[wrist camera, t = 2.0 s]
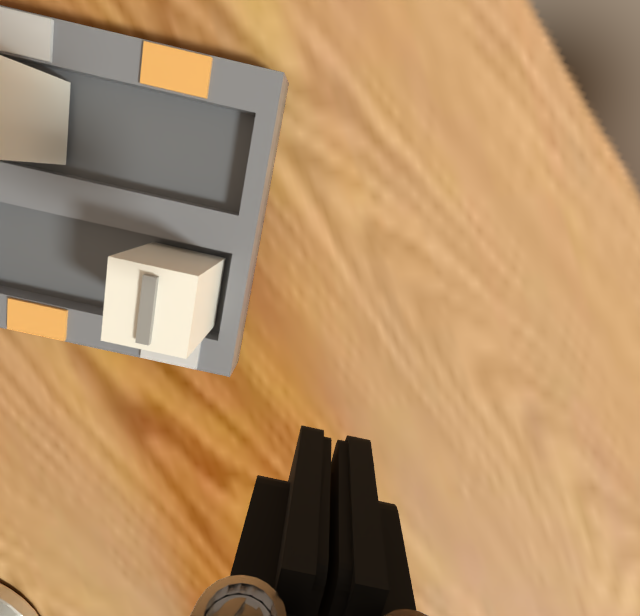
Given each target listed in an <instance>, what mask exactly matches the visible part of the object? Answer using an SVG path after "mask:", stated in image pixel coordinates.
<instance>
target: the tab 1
mask: <svg viewBox="0 0 640 616" xmlns="http://www.w3.org/2000/svg"><path fill="white" fill-rule="evenodd" d="M70 85H71V83H70V82H68V81H65V80H63V79H60V78H58V77H55V76H52V75H50V74H47V73H45V72H42V71H40V70H37V69H35V68H32V67H30V66H27V65H24V64H22V63H19V62H17V61H14V60H12V59H9V58H7V57H4V56H2V55H0V160H10V161H22V162H35V163H48V164H61V165H66V156H67V138H68V121H69V103H70Z"/></svg>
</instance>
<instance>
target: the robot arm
mask: <svg viewBox="0 0 640 616" xmlns="http://www.w3.org/2000/svg"><path fill="white" fill-rule="evenodd" d="M0 616H38V614H37V613H36V611H35V610H34V609H33V608H32V607H31V606H30V605H29V604H28V602H27V601H26V600H25V599H24V598H22V597H21V596H20V595H18V594H17V593H16V592H14V591H13V590H12V589H10V588H8V587H6V586H5V585H3V584H1V583H0ZM190 616H427V615H425V614H423V613H421V612H419V611H416V606H415V601H414V595H413V590H412V584H411V579H410V574H409V568H408V563H407V557H406V552H405V546H404V541H403V535H402V530H401V525H400V519H399V514H398V510H397V507H396V505H395V504H390V503H386V502H381V501H378V495H377V487H376V479H375V471H374V463H373V456H372V448H371V442H370V440H366V439H362V438H357V437H352V436H347V437H346V440H345V441H342V440H337V443H336V446H335V450H334V454H333V458H332V461H331V438H328V437H324V430H320V429H315V428H311V427H306V426H301V429H300V434H299V438H298V442H297V446H296V450H295V455H294V459H293V463H292V467H291V472H290V476H289V480H288V482H287V481H283V480H278V479H273V478H268V477H264V476H259V475H258V476H257V479H256V483H255V487H254V490H253V494H252V498H251V501H250V505H249V509H248V512H247V516H246V520H245V523H244V527H243V531H242V534H241V538H240V542H239V545H238V549H237V553H236V556H235V560H234V564H233V567H232V571H231V575H230V576H228V577H226V578H223V579H221V580H218V581H216V582H215V583H214V584H212V585H211V586H210V587H208V588H207V589H206V590H205V591H204V593H203V594H202V596H201V597H200V598H199V600H198V601H197V603H196V605H195V607H194V609H193V611H192V613H191V615H190Z"/></svg>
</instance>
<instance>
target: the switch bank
mask: <svg viewBox="0 0 640 616" xmlns="http://www.w3.org/2000/svg"><path fill="white" fill-rule="evenodd" d="M0 55H2V56H4V57H7V58H9V59H12V60H14V61H17V62H19V63H22V64H24V65H27V66H30V67H32V68H35V69H37V70H40V71H42V72H45V73H47V74H50V75H52V76H55V77H58V78H60V79H63V80H65V81H68V82H70V83H71V85H70V103H69V121H68V138H67V156H66V165H61V164H48V163H35V162H22V161H10V160H0V328H5V329H10V330H14V331H19V332H24V333H28V334H33V335H38V336H42V337H47V338H51V339H56V340H61V341H66V342H70V343H75V344H79V345H84V346H89V347H93V348H98V349H103V350H107V351H112V352H117V353H121V354H126V355H131V356H135V357H140V358H145V359H149V360H154V361H158V362H163V363H168V364H172V365H177V366H182V367H186V368H191V369H196V370H200V371H205V372H210V373H214V374H219V375H224V376H228V377H230V376H231V374H232V372H233V370H234V368H235V366H236V364H237V363H238V359H239V353H240V348H241V342H242V337H243V331H244V326H245V320H246V315H247V309H248V304H249V298H250V293H251V287H252V282H253V277H254V271H255V266H256V260H257V255H258V249H259V244H260V238H261V233H262V227H263V222H264V216H265V211H266V205H267V200H268V194H269V189H270V183H271V178H272V172H273V167H274V161H275V156H276V150H277V145H278V139H279V134H280V129H281V123H282V118H283V112H284V107H285V101H286V96H287V90H288V85H289V83H288V80H287V78H286V76H285V74H284V73H283V72H279V71H275V70H271V69H266V68H262V67H258V66H254V65H250V64H245V63H241V62H237V61H233V60H229V59H224V58H220V57H216V56H212V55H207V54H203V53H199V52H195V51H191V50H186V49H182V48H178V47H174V46H170V45H165V44H161V43H157V42H153V41H148V40H144V39H140V38H136V37H132V36H127V35H123V34H119V33H115V32H111V31H106V30H102V29H98V28H94V27H90V26H85V25H81V24H77V23H73V22H68V21H64V20H60V19H56V18H52V17H47V16H43V15H39V14H35V13H31V12H26V11H22V10H18V9H14V8H10V7H5V6H1V5H0ZM152 242H156V243H160V244H165V245H169V246H174V247H178V248H183V249H187V250H192V251H196V252H201V253H205V254H210V255H214V256H219V257H223V258H226V259H225V265H224V271H223V278H222V284H221V290H220V296H219V302H218V308H217V314H216V321H215V326H214V327H213V328H212V329H211V331H210V332H209V333H208V334H207V335H206V336H205V338H204V339H203V340H202V341H201V342H200V344H199V345H198V346H197V347H196V348H195V349H194V351H193V352H192V353H191V354H190V355H189V356H188V358H187V359H184V358H179V357H175V356H170V355H165V354H161V353H156V352H152V351H147V350H142V349H138V348H133V347H128V346H124V345H119V344H114V343H110V342H105V341H101V332H102V321H103V309H104V298H105V286H106V275H107V263H108V256H111V255H114V254H117V253H120V252H123V251H127V250H130V249H133V248H136V247H139V246H143V245H146V244H149V243H152Z"/></svg>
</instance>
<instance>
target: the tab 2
mask: <svg viewBox="0 0 640 616" xmlns="http://www.w3.org/2000/svg"><path fill="white" fill-rule="evenodd" d="M225 259H226V258H223V257H219V256H214V255H210V254H205V253H201V252H196V251H192V250H187V249H183V248H178V247H174V246H169V245H165V244H160V243H156V242H152V243H149V244H146V245H143V246H139V247H136V248H133V249H130V250H127V251H123V252H120V253H117V254H114V255H111V256H108V263H107V275H106V286H105V298H104V309H103V321H102V332H101V341H105V342H110V343H114V344H119V345H124V346H128V347H133V348H138V349H142V350H147V351H152V352H156V353H161V354H165V355H170V356H175V357H179V358H184V359H187V358H188V356H189V355H190V354H191V353H192V352H193V351H194V349H195V348H196V347H197V346H198V345H199V344H200V342H201V341H202V340H203V339H204V338H205V336H206V335H207V334H208V333H209V332H210V331H211V329H212V328H213V327H214V326H215V321H216V314H217V308H218V302H219V296H220V290H221V284H222V278H223V271H224V265H225Z"/></svg>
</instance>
